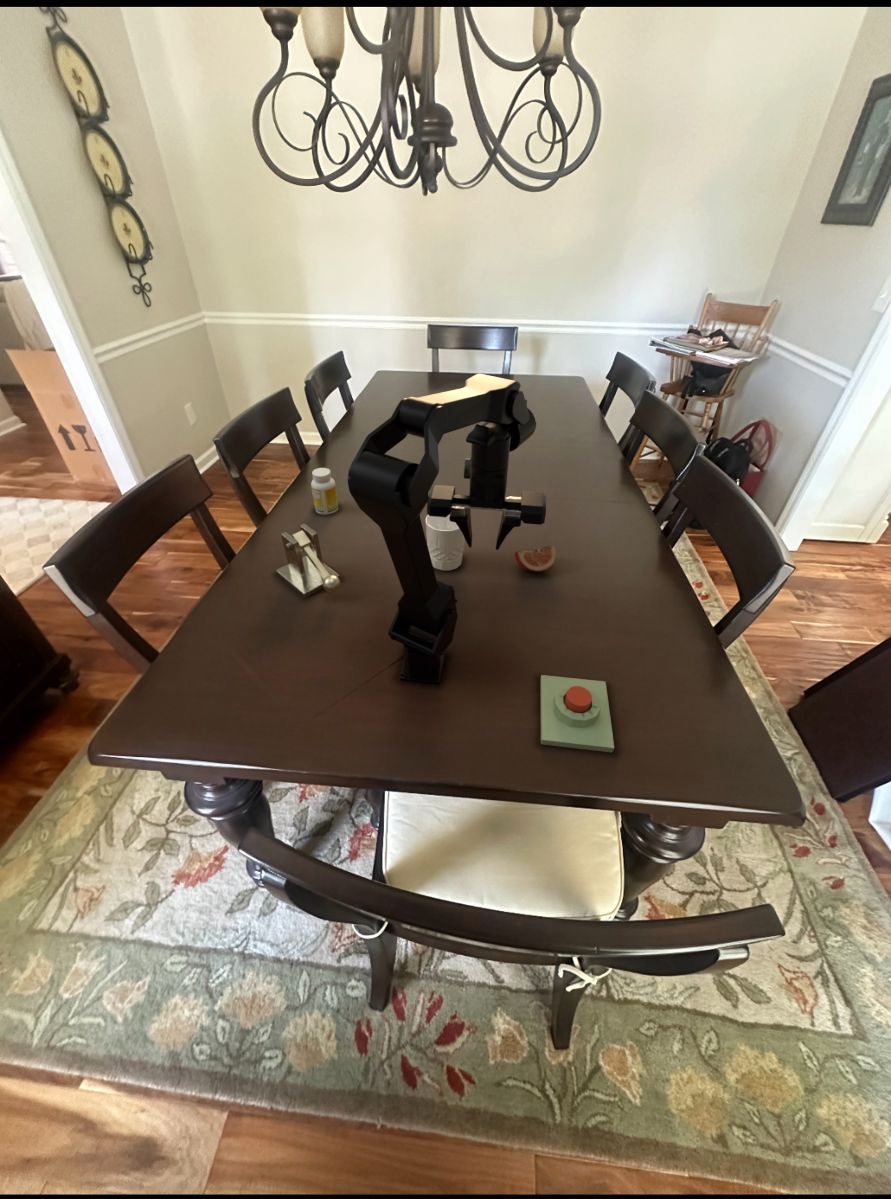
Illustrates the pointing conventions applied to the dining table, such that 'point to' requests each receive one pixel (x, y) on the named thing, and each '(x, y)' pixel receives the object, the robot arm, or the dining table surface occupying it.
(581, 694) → the button
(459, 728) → the dining table surface
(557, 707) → the switchbox
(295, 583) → the bracket
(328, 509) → the supplement bottle
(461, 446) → the dining table surface
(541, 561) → the fruit slice
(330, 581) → the lever
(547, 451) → the dining table surface
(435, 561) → the white cup
